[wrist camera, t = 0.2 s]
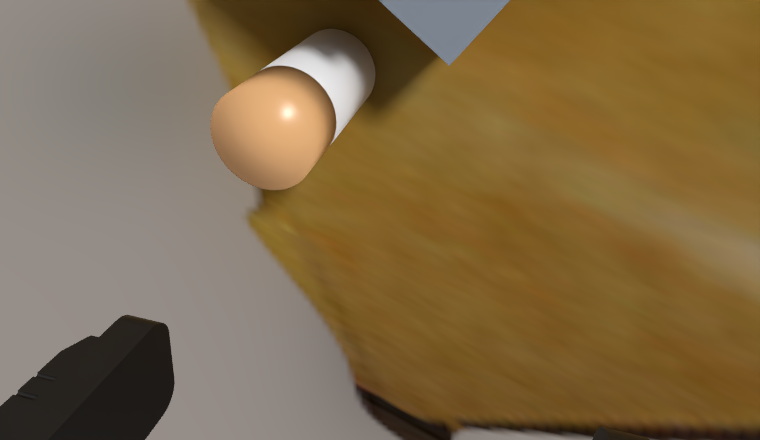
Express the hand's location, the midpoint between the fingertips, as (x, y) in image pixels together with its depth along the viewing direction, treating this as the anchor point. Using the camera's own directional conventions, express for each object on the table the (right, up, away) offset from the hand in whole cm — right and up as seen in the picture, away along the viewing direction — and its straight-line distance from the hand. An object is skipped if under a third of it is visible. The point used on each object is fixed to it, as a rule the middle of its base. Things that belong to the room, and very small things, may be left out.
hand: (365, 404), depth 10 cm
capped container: (-2, +12, +21) cm, 25 cm away
